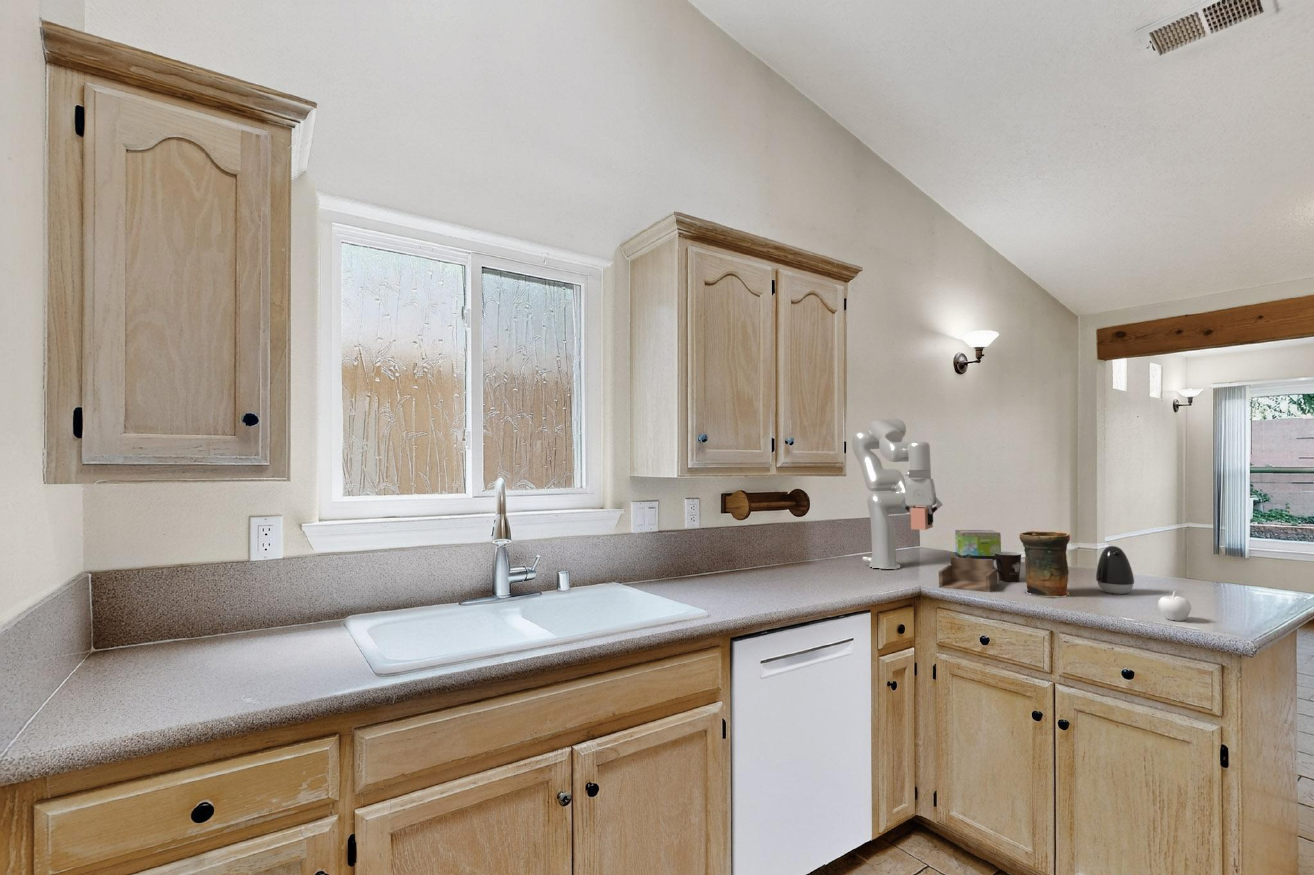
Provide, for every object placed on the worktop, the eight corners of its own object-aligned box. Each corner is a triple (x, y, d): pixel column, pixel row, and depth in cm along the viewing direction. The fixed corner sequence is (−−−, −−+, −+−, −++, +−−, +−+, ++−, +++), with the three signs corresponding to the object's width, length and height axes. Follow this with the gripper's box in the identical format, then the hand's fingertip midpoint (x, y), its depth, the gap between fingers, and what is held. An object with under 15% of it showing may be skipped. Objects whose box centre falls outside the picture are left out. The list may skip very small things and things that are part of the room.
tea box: (963, 568, 259) (961, 532, 260) (955, 564, 269) (954, 529, 270) (1002, 568, 257) (1000, 531, 258) (993, 564, 267) (992, 529, 267)
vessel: (1085, 596, 202) (1080, 534, 203) (1043, 599, 201) (1038, 536, 202) (1054, 588, 217) (1049, 529, 217) (1014, 591, 216) (1009, 532, 216)
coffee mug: (1016, 578, 235) (1014, 551, 236) (1027, 582, 227) (1025, 554, 227) (983, 578, 236) (982, 551, 237) (993, 583, 228) (991, 555, 228)
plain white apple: (1164, 621, 171) (1163, 592, 171) (1154, 615, 178) (1153, 587, 178) (1196, 623, 168) (1195, 593, 169) (1185, 617, 175) (1183, 588, 175)
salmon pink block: (911, 529, 232) (910, 508, 232) (918, 526, 240) (917, 506, 240) (925, 529, 229) (924, 508, 229) (932, 527, 237) (931, 506, 237)
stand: (939, 587, 223) (938, 562, 224) (949, 580, 235) (948, 557, 235) (989, 591, 214) (988, 566, 214) (997, 584, 225) (996, 560, 226)
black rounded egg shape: (1102, 595, 205) (1099, 547, 205) (1092, 588, 214) (1090, 543, 215) (1140, 596, 201) (1137, 548, 202) (1128, 590, 211) (1126, 544, 211)
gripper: (893, 475, 237) (895, 524, 236) (941, 475, 227) (944, 526, 226) (899, 475, 243) (901, 522, 242) (946, 474, 233) (949, 524, 232)
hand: (921, 523), depth 234 cm, fingers closed on salmon pink block, 4 cm apart
